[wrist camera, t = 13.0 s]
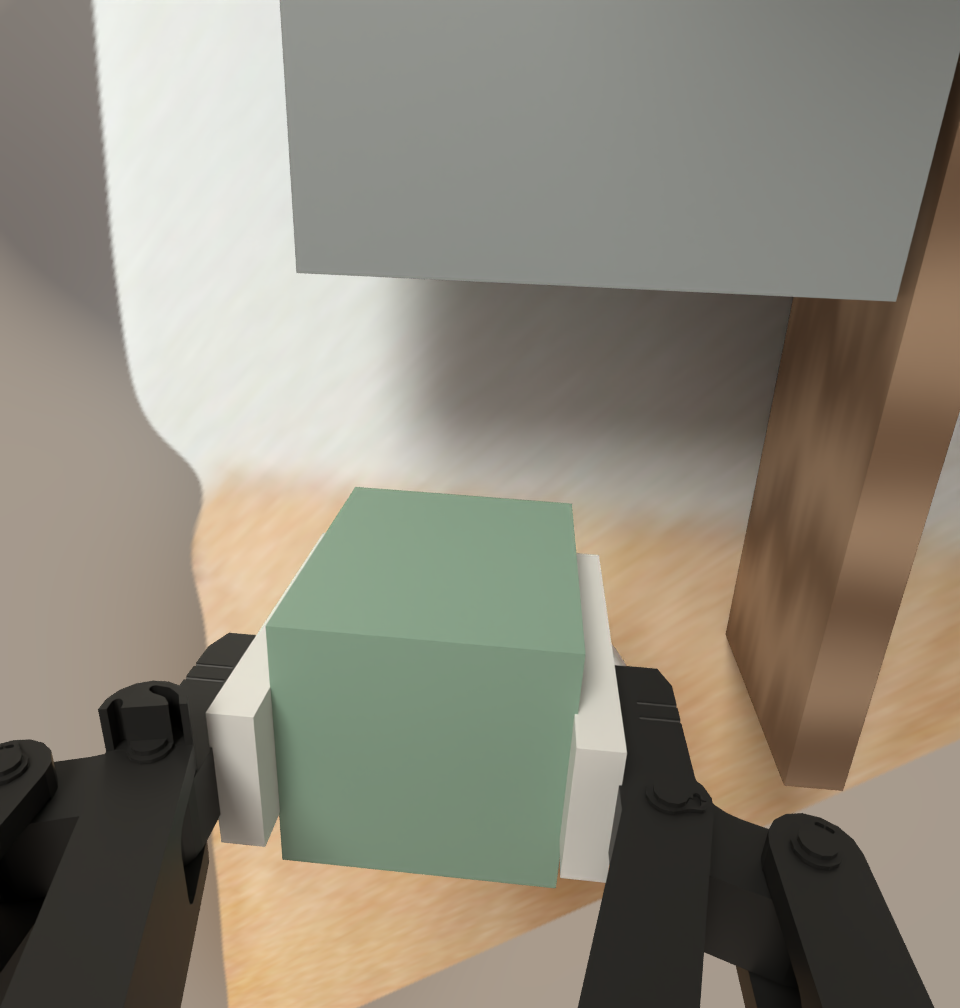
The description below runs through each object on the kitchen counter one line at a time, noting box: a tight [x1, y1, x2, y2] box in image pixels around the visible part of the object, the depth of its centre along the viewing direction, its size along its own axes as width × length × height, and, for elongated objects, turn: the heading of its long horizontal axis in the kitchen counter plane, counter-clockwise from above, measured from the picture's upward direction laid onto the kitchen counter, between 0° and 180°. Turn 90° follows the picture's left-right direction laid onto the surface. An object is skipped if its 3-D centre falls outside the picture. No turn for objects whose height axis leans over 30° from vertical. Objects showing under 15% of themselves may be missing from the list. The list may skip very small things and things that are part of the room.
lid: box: [280, 0, 960, 302], centre depth 18 cm, size 12×16×2 cm
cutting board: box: [726, 53, 960, 791], centre depth 24 cm, size 28×2×10 cm, turn 178°
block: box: [266, 487, 585, 888], centre depth 15 cm, size 5×5×6 cm
